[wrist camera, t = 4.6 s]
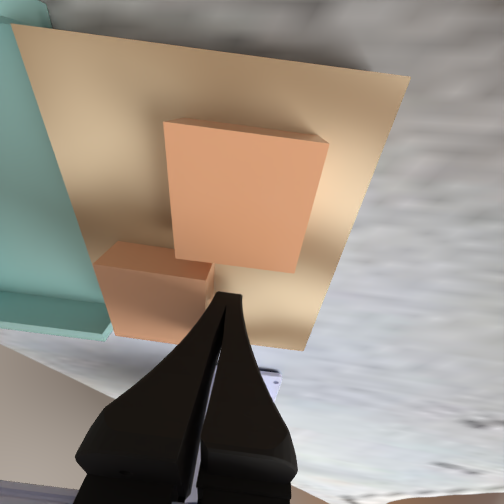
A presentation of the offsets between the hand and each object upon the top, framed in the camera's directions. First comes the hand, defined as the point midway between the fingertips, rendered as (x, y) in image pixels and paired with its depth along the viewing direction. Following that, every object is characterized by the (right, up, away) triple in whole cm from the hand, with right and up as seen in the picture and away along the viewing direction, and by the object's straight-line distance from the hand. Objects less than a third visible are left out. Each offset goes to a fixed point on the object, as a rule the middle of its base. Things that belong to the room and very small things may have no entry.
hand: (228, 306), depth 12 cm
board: (-1, +5, +1) cm, 5 cm away
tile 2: (-4, +1, 0) cm, 4 cm away
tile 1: (+1, +5, -3) cm, 6 cm away
